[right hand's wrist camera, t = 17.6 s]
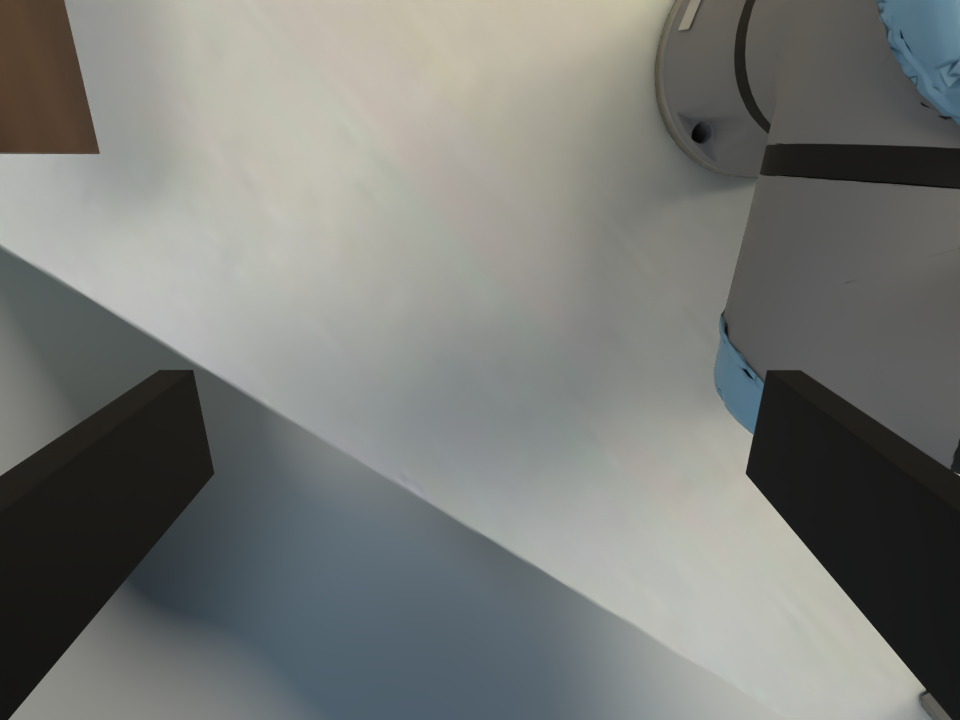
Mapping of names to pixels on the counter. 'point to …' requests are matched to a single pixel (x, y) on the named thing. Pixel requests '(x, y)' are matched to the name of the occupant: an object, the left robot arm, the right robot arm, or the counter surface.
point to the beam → (41, 82)
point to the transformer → (933, 708)
